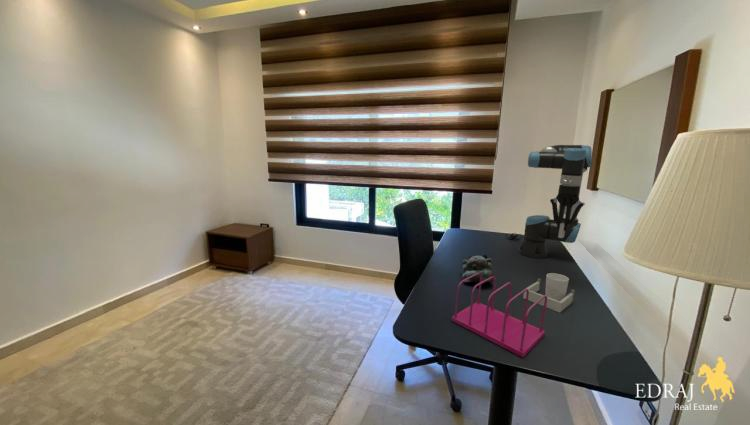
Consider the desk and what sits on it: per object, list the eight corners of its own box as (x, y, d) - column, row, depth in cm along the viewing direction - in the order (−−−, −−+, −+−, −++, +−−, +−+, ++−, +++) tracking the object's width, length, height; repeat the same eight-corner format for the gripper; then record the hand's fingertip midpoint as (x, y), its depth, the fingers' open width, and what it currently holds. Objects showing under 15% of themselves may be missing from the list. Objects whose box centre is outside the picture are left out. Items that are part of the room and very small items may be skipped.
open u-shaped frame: (537, 289, 132) (538, 278, 131) (572, 302, 122) (574, 290, 120) (522, 298, 124) (524, 286, 123) (559, 312, 113) (562, 300, 112)
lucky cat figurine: (456, 282, 137) (456, 252, 141) (467, 284, 145) (467, 256, 149) (488, 283, 127) (487, 250, 131) (498, 285, 136) (497, 255, 140)
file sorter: (522, 358, 88) (529, 311, 84) (451, 321, 106) (454, 280, 103) (544, 335, 99) (551, 292, 96) (476, 305, 117) (480, 268, 114)
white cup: (569, 302, 121) (573, 279, 119) (556, 305, 118) (560, 282, 116) (552, 293, 128) (555, 272, 126) (539, 296, 125) (542, 274, 123)
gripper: (549, 183, 130) (542, 235, 135) (584, 187, 120) (574, 242, 126) (556, 182, 134) (548, 232, 140) (590, 186, 125) (580, 239, 130)
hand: (561, 237), depth 133 cm, fingers closed
